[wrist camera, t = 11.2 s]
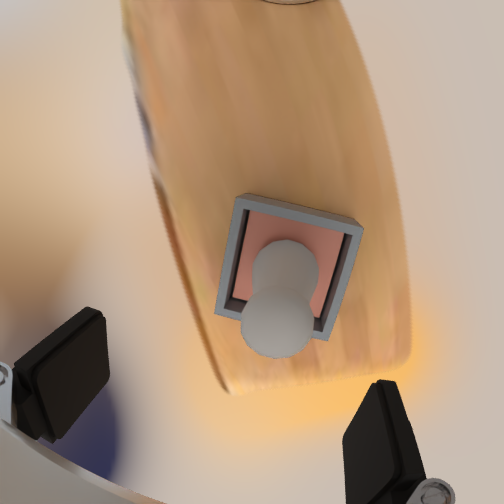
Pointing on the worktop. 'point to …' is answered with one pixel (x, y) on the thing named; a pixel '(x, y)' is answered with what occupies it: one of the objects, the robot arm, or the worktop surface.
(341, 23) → the worktop surface
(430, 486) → the robot arm
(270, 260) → the grey bowling pin
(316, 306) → the pan
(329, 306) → the press housing
